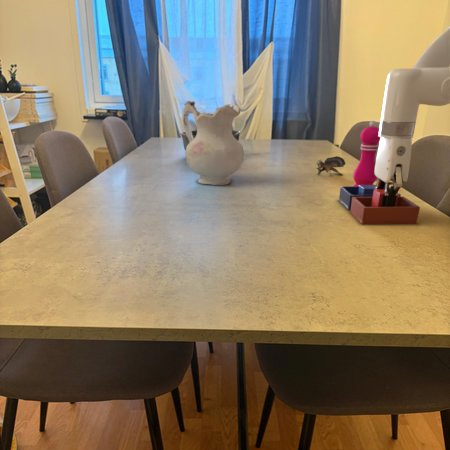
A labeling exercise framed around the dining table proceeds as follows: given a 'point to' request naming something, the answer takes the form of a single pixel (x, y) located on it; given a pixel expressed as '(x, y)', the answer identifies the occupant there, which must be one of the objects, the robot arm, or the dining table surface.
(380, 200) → the red block
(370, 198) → the red bin
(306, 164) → the dining table surface
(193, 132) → the bundt pan
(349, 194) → the blue bin
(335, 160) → the brown insect figurine
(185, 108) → the ceramic pitcher
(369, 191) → the blue block
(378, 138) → the pepper mill
